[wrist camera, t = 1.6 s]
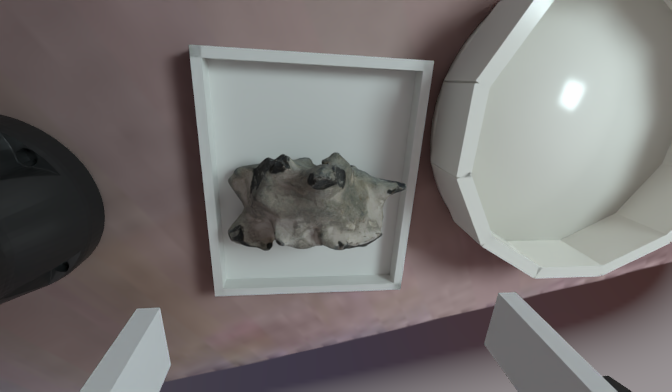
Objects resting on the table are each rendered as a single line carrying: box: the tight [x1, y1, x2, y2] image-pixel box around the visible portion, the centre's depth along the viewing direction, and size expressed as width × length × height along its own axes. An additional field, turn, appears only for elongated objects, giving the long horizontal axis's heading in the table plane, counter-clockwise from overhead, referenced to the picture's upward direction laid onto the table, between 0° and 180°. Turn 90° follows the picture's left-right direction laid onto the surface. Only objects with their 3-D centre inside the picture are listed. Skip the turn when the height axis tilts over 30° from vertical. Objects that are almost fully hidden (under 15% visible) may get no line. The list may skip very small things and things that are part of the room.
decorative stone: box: [228, 152, 406, 251], centre depth 25 cm, size 16×9×10 cm, turn 105°
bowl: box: [430, 0, 672, 278], centre depth 27 cm, size 26×26×6 cm
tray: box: [189, 45, 434, 296], centre depth 28 cm, size 19×22×2 cm
